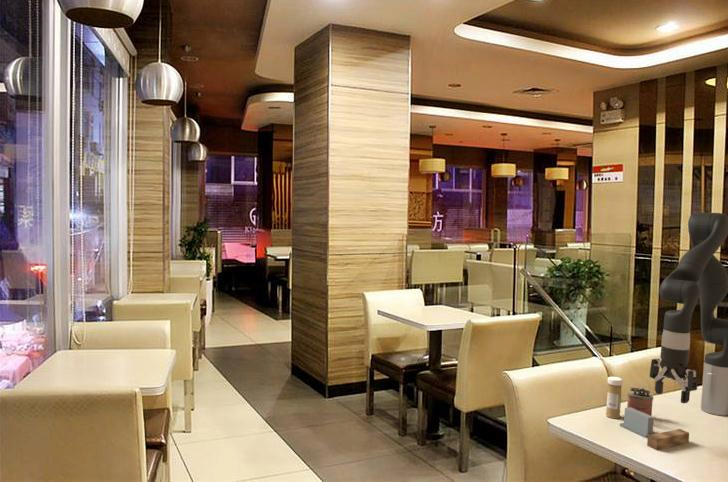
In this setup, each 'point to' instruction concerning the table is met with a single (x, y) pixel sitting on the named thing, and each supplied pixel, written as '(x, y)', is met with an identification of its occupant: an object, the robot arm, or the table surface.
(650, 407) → the lighter
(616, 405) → the sprinkles bottle
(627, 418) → the fulcrum
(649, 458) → the table surface
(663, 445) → the walnut bar
